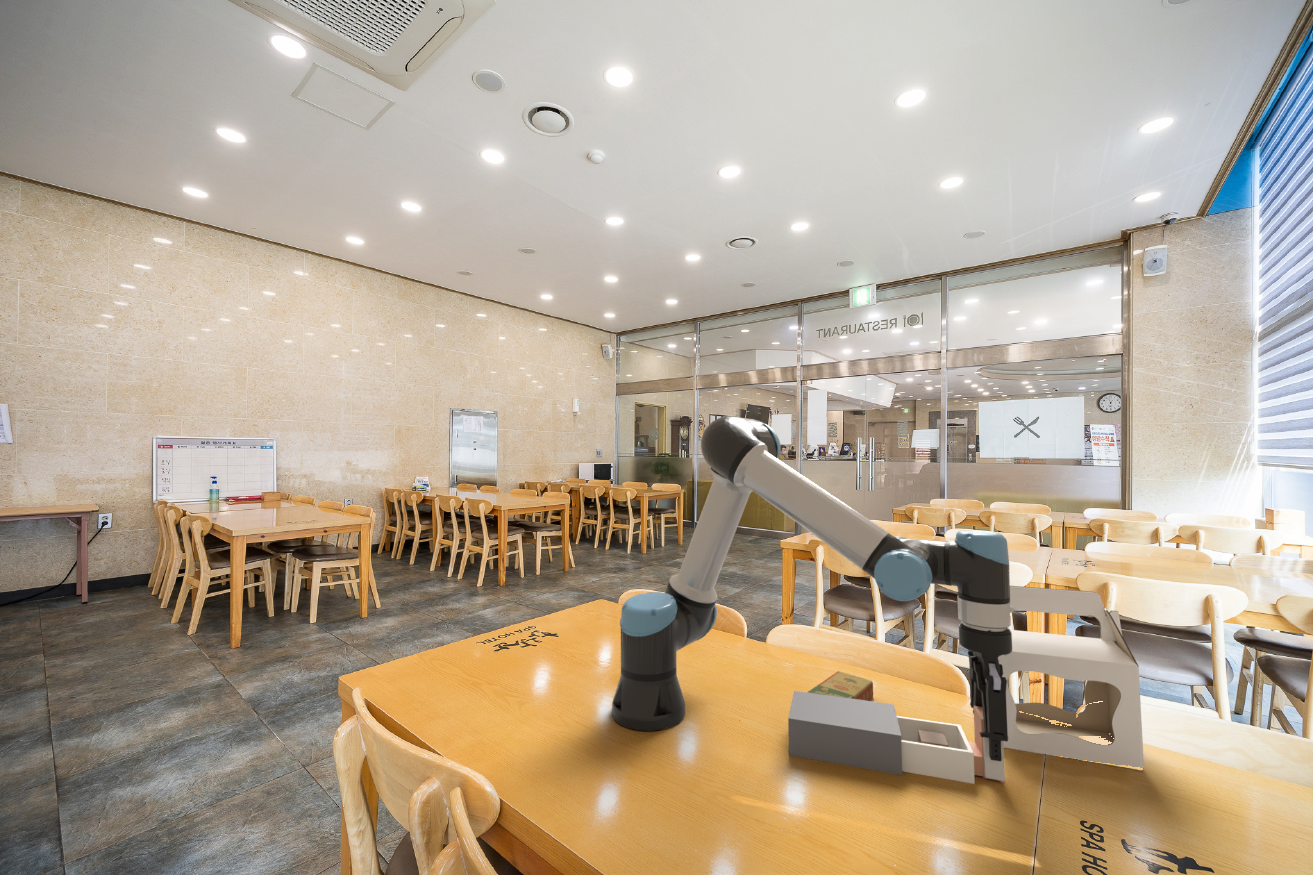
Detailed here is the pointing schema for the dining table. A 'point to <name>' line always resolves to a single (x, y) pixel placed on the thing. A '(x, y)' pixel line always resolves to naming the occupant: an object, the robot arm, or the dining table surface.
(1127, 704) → the gable box
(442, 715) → the dining table surface
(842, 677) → the carton
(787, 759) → the dining table surface
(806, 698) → the sleeve
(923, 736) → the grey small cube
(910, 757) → the tray
